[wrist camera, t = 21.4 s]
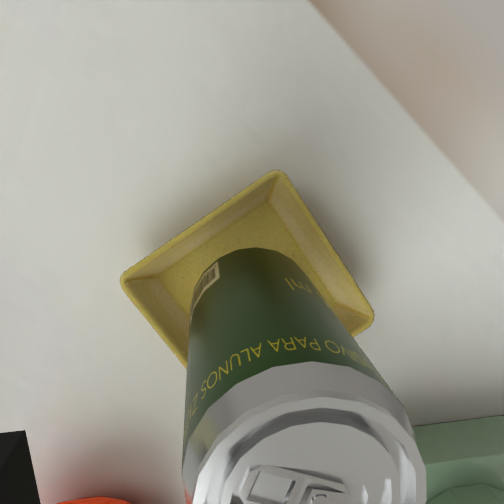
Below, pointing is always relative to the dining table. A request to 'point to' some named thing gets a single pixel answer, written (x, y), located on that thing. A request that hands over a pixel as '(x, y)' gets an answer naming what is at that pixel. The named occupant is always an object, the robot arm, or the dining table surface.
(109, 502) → the pumpkin
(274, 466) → the green soda can
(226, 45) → the dining table surface
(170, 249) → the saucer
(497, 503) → the button base
